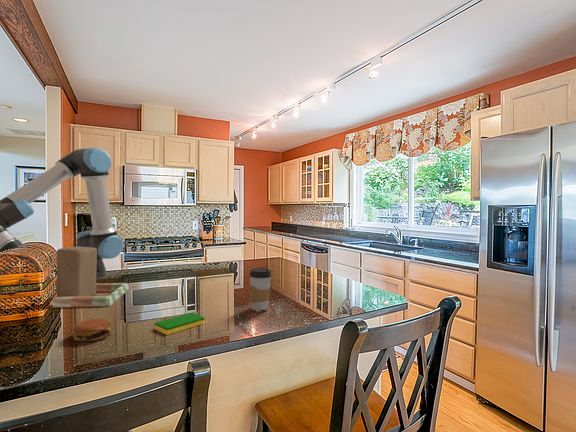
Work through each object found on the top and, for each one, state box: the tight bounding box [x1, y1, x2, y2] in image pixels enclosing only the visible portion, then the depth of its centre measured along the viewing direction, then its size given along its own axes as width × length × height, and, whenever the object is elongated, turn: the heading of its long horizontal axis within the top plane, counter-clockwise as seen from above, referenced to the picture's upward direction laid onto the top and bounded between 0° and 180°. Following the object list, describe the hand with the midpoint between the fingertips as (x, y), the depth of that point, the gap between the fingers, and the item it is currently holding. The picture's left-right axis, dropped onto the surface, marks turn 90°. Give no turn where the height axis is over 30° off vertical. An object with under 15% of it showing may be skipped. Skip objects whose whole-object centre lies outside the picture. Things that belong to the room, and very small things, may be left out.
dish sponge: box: [154, 312, 206, 336], centre depth 103 cm, size 7×14×2 cm, turn 141°
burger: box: [72, 317, 112, 342], centre depth 93 cm, size 10×9×5 cm
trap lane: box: [52, 282, 129, 308], centre depth 130 cm, size 24×20×3 cm
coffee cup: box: [249, 267, 272, 312], centre depth 123 cm, size 8×8×15 cm
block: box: [55, 245, 97, 297], centre depth 129 cm, size 10×10×20 cm
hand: (55, 288), depth 127 cm, fingers closed
